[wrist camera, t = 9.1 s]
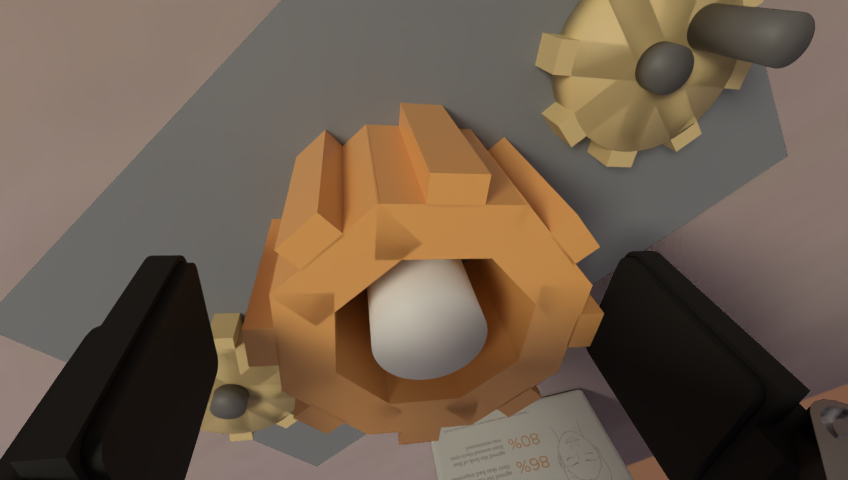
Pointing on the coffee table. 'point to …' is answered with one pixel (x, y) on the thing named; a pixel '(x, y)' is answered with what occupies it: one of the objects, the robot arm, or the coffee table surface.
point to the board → (380, 105)
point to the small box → (532, 445)
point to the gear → (417, 240)
